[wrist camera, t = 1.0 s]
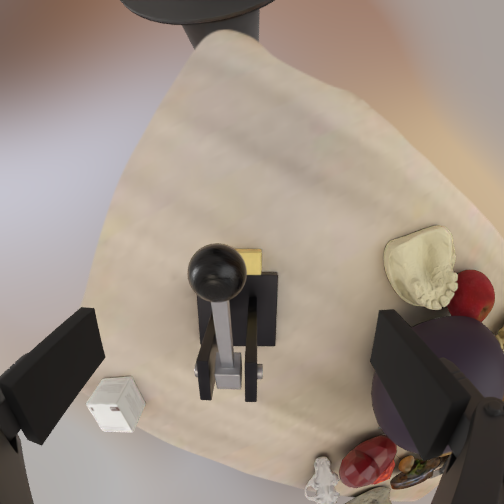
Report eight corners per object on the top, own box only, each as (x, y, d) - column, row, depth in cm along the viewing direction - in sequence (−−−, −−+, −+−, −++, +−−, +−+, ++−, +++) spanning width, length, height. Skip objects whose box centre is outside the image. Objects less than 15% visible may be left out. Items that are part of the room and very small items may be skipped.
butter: (212, 248, 38) (209, 252, 36) (261, 249, 38) (261, 252, 36) (212, 269, 39) (210, 274, 37) (261, 270, 39) (261, 275, 37)
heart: (344, 500, 40) (368, 494, 34) (319, 473, 45) (339, 463, 38) (385, 462, 46) (411, 448, 40) (362, 438, 51) (385, 421, 44)
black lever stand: (197, 271, 39) (162, 329, 23) (277, 272, 39) (289, 332, 23) (201, 340, 41) (177, 418, 26) (274, 341, 41) (282, 422, 26)
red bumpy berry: (378, 495, 41) (407, 467, 43) (364, 483, 41) (395, 453, 43) (363, 482, 48) (390, 456, 50) (348, 469, 47) (377, 441, 49)
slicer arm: (189, 231, 19) (178, 270, 16) (247, 231, 19) (245, 271, 16) (212, 361, 29) (209, 394, 26) (249, 362, 29) (248, 395, 26)
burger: (442, 475, 37) (432, 444, 41) (386, 496, 41) (377, 467, 45) (443, 458, 46) (435, 432, 50) (397, 478, 50) (388, 452, 54)
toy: (460, 457, 51) (485, 443, 45) (461, 461, 50) (486, 448, 44) (422, 476, 48) (448, 464, 42) (424, 481, 47) (450, 470, 41)
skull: (299, 465, 44) (298, 449, 50) (307, 516, 43) (306, 500, 49) (338, 457, 44) (333, 443, 50) (342, 509, 42) (338, 494, 48)
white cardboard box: (117, 404, 45) (102, 432, 38) (102, 377, 43) (84, 404, 36) (147, 403, 44) (134, 433, 37) (132, 375, 43) (115, 404, 36)
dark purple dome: (409, 393, 46) (410, 472, 34) (343, 351, 40) (335, 457, 29) (507, 346, 34) (525, 434, 22) (470, 282, 28) (504, 407, 17)
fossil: (388, 527, 42) (391, 506, 50) (391, 495, 45) (394, 476, 53) (329, 528, 48) (338, 508, 56) (329, 497, 51) (339, 479, 59)
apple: (434, 285, 37) (484, 291, 30) (455, 260, 40) (500, 263, 33) (438, 330, 38) (484, 339, 31) (459, 302, 42) (500, 308, 35)
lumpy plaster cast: (393, 314, 40) (408, 328, 34) (375, 243, 39) (389, 248, 33) (454, 287, 39) (475, 296, 33) (439, 219, 38) (460, 219, 32)
